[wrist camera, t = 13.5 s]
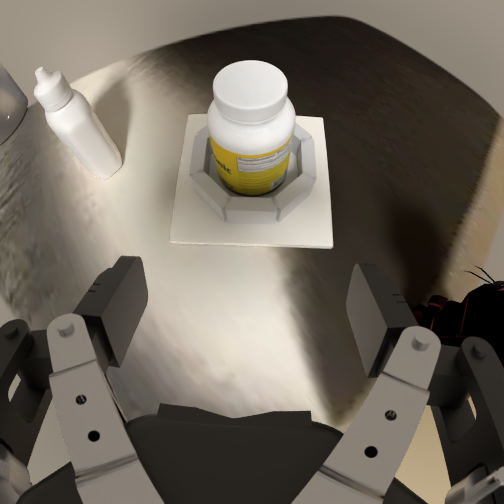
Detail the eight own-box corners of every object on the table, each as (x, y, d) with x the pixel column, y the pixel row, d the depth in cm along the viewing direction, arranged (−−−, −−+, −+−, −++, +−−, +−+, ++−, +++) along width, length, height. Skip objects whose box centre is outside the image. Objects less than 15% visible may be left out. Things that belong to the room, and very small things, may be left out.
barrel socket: (171, 243, 23) (160, 230, 20) (189, 118, 26) (184, 96, 24) (331, 248, 23) (341, 235, 20) (321, 121, 26) (327, 100, 23)
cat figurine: (470, 328, 21) (577, 309, 10) (429, 396, 20) (537, 420, 8) (418, 277, 22) (521, 227, 11) (371, 347, 21) (474, 347, 9)
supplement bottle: (214, 148, 25) (197, 58, 15) (279, 140, 25) (289, 49, 16) (221, 206, 23) (203, 125, 14) (292, 197, 24) (314, 113, 14)
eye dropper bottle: (121, 128, 26) (71, 36, 15) (124, 175, 25) (60, 82, 13) (82, 143, 26) (22, 61, 14) (81, 191, 25) (5, 111, 13)
